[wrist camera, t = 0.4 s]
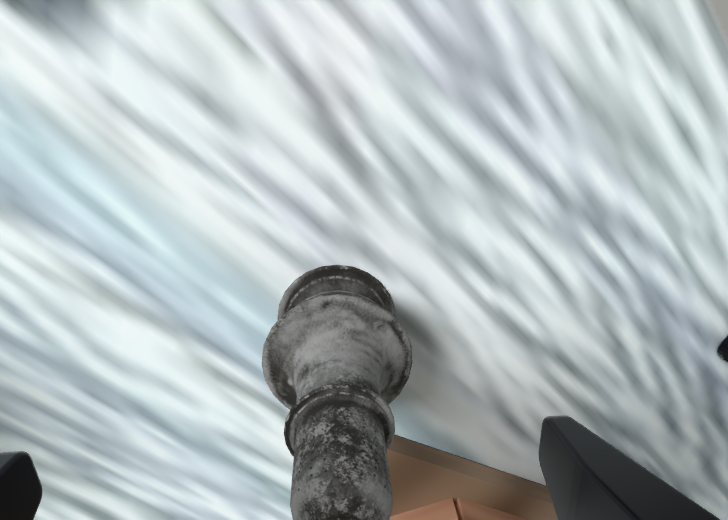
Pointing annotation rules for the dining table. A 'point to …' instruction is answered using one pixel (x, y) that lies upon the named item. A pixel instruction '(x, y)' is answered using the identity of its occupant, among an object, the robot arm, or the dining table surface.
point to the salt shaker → (338, 391)
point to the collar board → (459, 488)
